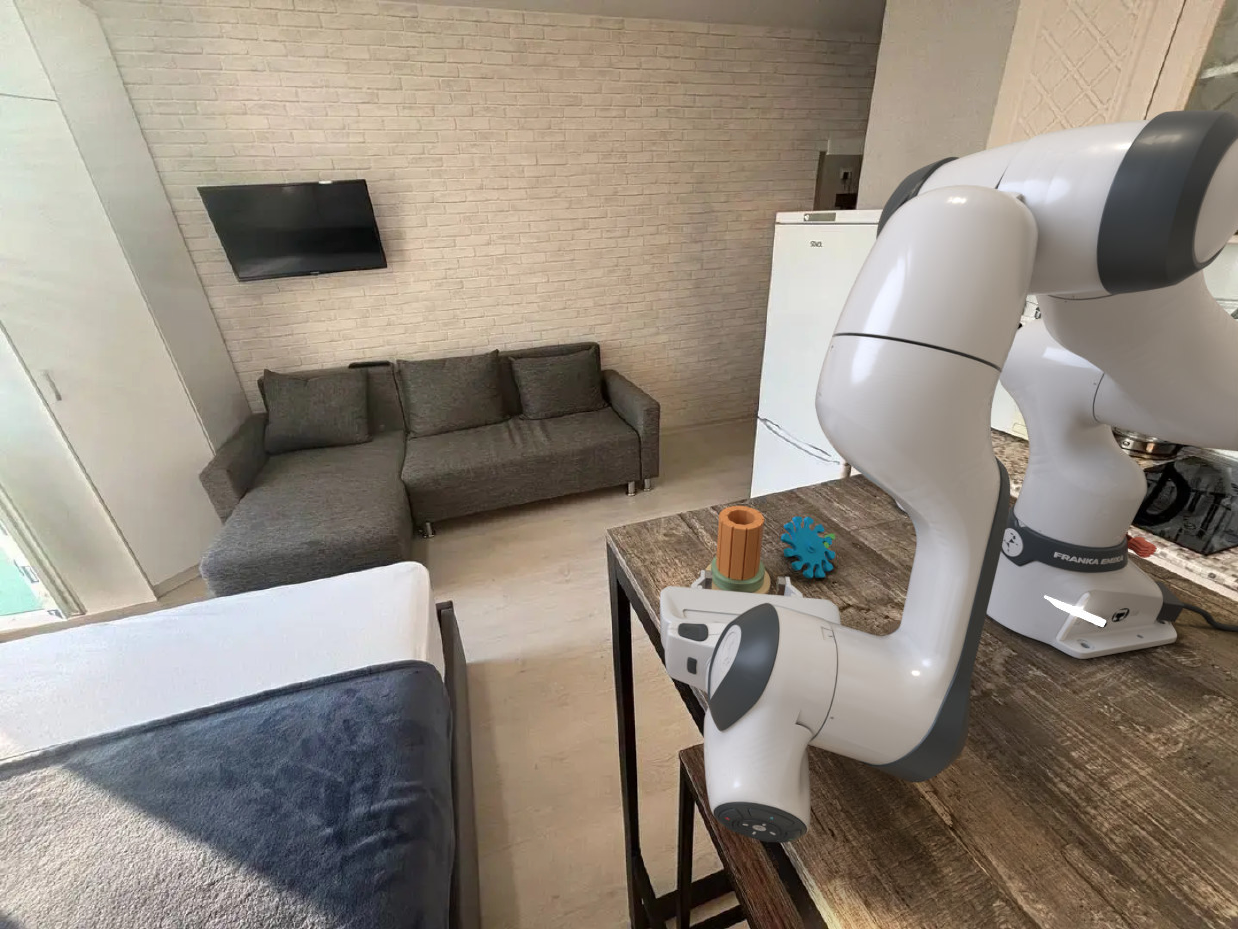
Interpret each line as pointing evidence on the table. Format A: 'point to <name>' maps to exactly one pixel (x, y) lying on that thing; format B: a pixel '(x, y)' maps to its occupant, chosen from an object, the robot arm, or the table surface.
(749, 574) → the orange grooved hollow cylinder
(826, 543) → the gear
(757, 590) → the ring stack
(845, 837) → the table surface
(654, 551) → the table surface
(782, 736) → the robot arm
